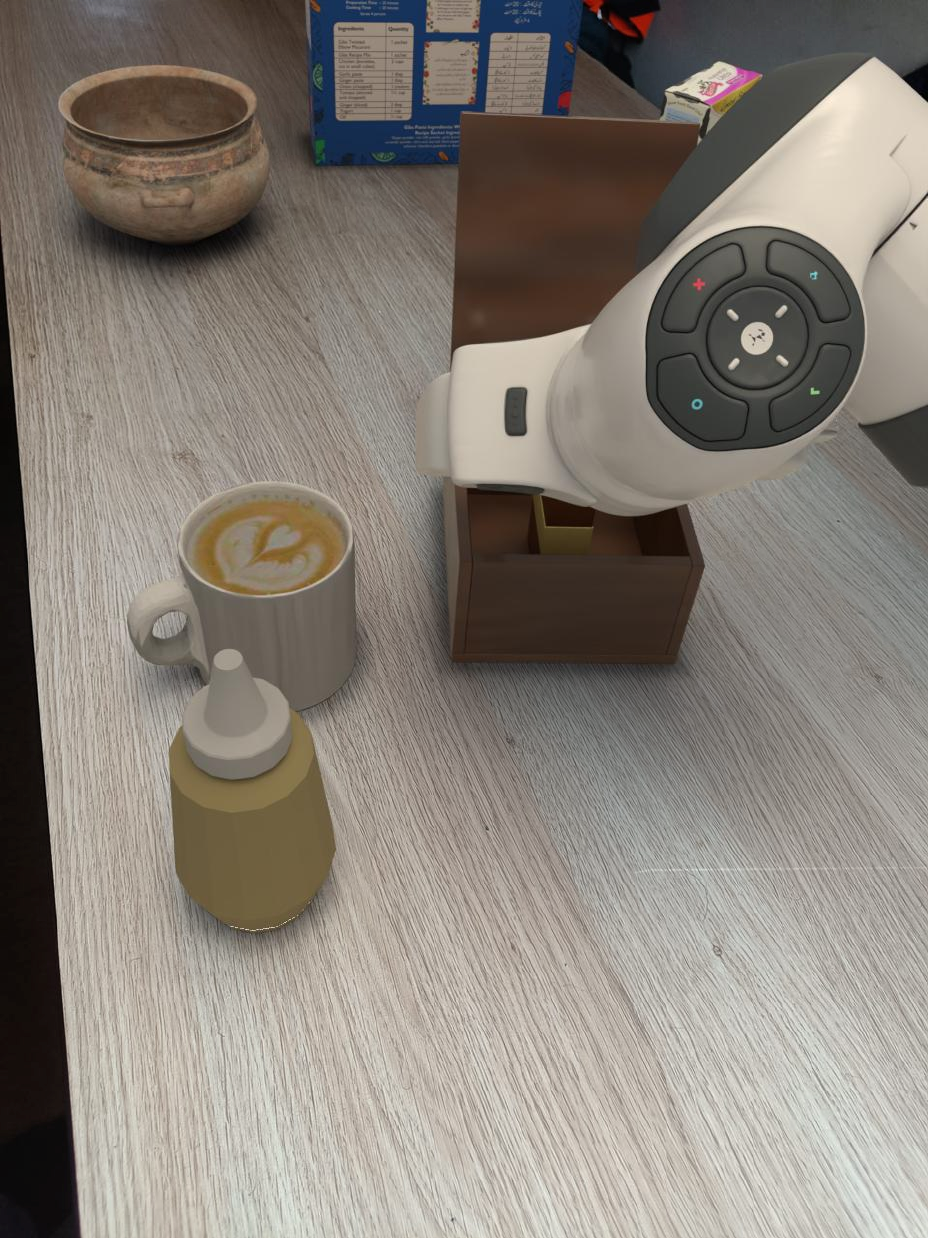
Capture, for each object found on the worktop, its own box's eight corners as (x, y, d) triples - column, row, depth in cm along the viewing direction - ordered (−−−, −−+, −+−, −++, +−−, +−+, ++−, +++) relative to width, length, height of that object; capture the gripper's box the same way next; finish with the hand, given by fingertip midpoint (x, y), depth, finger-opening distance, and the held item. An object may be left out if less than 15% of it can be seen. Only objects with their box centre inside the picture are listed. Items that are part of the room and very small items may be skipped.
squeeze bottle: (167, 845, 58) (108, 616, 45) (311, 801, 60) (294, 571, 47) (204, 978, 53) (148, 763, 40) (358, 923, 55) (354, 704, 42)
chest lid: (700, 123, 65) (683, 114, 69) (461, 112, 64) (457, 103, 67) (659, 398, 74) (646, 377, 78) (449, 392, 73) (446, 371, 76)
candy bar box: (672, 278, 105) (711, 104, 93) (628, 261, 106) (661, 88, 95) (723, 238, 111) (765, 71, 99) (680, 222, 113) (717, 57, 101)
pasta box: (546, 132, 127) (579, -151, 107) (562, 161, 122) (600, -132, 102) (310, 135, 122) (298, -161, 102) (316, 165, 117) (304, -141, 97)
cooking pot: (286, 289, 99) (277, 156, 90) (72, 299, 95) (41, 162, 86) (263, 171, 115) (254, 49, 106) (81, 176, 112) (56, 51, 103)
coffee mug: (340, 588, 72) (336, 471, 65) (370, 699, 66) (370, 583, 58) (136, 617, 69) (108, 498, 62) (147, 737, 63) (117, 620, 55)
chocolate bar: (569, 536, 76) (590, 420, 69) (579, 596, 72) (602, 480, 65) (526, 535, 76) (542, 419, 69) (534, 596, 72) (552, 479, 64)
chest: (675, 663, 69) (705, 565, 63) (451, 662, 68) (459, 562, 62) (635, 498, 81) (657, 401, 74) (442, 495, 80) (448, 396, 73)
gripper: (856, 356, 50) (754, 407, 64) (421, 343, 48) (412, 398, 62) (854, 491, 50) (752, 512, 64) (419, 483, 49) (411, 506, 62)
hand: (582, 456), depth 63 cm, fingers open, 8 cm apart
